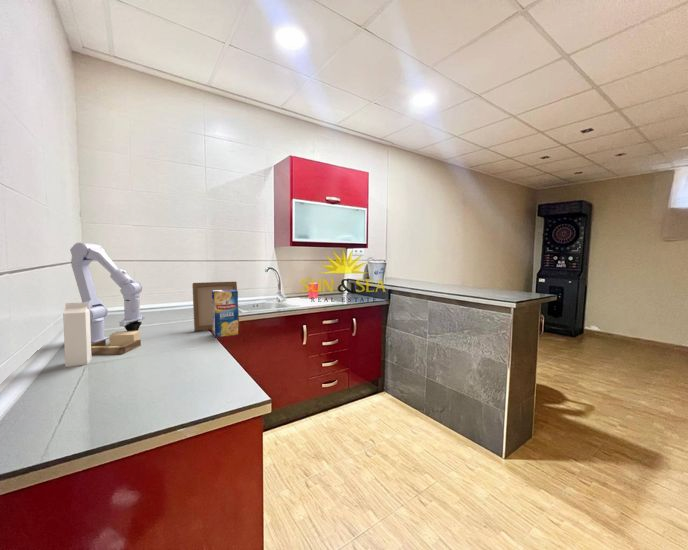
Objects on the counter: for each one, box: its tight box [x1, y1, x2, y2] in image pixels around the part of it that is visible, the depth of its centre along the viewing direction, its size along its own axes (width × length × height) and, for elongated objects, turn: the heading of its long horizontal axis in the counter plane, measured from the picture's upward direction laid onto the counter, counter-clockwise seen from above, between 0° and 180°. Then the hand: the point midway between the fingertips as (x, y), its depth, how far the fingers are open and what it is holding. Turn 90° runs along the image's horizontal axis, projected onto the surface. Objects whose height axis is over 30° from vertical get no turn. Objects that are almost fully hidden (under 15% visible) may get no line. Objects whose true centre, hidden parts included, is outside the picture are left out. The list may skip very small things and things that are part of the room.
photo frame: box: [192, 281, 240, 332], centre depth 162 cm, size 15×22×25 cm
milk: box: [62, 302, 92, 368], centre depth 106 cm, size 6×6×22 cm
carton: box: [108, 330, 141, 347], centre depth 130 cm, size 9×7×5 cm
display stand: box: [91, 339, 142, 355], centre depth 122 cm, size 16×12×3 cm
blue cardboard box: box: [211, 289, 239, 338], centre depth 148 cm, size 7×11×22 cm, turn 124°
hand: (133, 338), depth 135 cm, fingers closed
